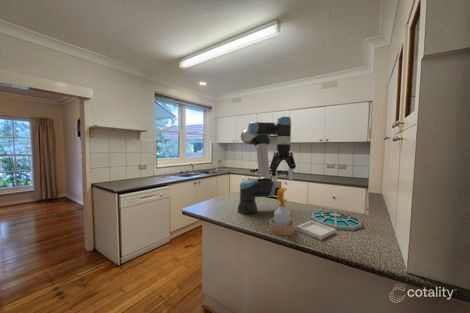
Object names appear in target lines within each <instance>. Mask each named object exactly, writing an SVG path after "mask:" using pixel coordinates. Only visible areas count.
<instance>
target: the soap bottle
mask: <svg viewBox="0 0 470 313" xmlns="http://www.w3.org/2000/svg"><path fill="white" fill-rule="evenodd" d="M286 191H287V188H285V187H279V189H277V190H276V200H277V201H278V202H280V204H278V205H279V206H278V208H276V210H274V213H273V214H274V215H273V218H274V224H276V225H281V226H289V225H290V219H291V212H290V211H289V210H288V209H287V208H286V205H285V204H286V202H287V201H288V199H285V198H284V193H285V192H286ZM284 203H285V204H284Z"/></svg>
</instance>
